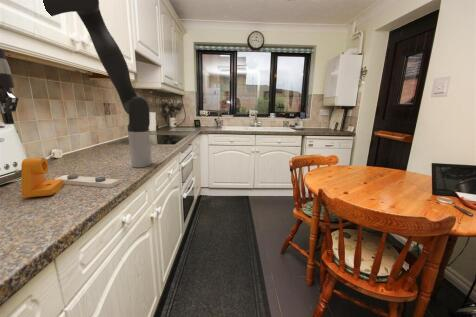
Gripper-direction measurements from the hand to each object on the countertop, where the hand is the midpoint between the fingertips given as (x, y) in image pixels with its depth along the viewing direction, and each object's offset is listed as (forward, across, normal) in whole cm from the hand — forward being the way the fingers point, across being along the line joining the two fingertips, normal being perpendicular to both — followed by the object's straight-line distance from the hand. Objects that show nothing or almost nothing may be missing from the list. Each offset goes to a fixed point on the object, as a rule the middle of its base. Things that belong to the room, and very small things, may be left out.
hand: (9, 124), depth 77 cm
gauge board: (+23, -23, -7) cm, 33 cm away
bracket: (+23, -19, +4) cm, 30 cm away
